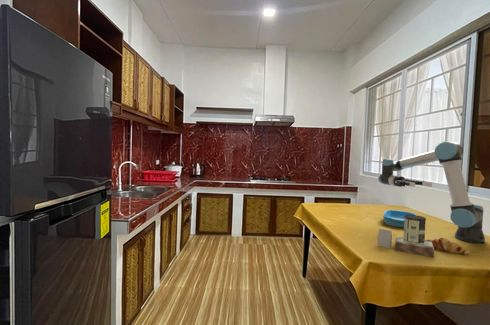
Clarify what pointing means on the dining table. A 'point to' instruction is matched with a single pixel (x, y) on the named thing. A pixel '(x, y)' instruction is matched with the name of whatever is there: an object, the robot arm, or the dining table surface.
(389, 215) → the casserole dish
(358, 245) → the dining table surface
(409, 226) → the coffee can
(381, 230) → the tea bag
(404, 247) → the stand
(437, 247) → the croissant
